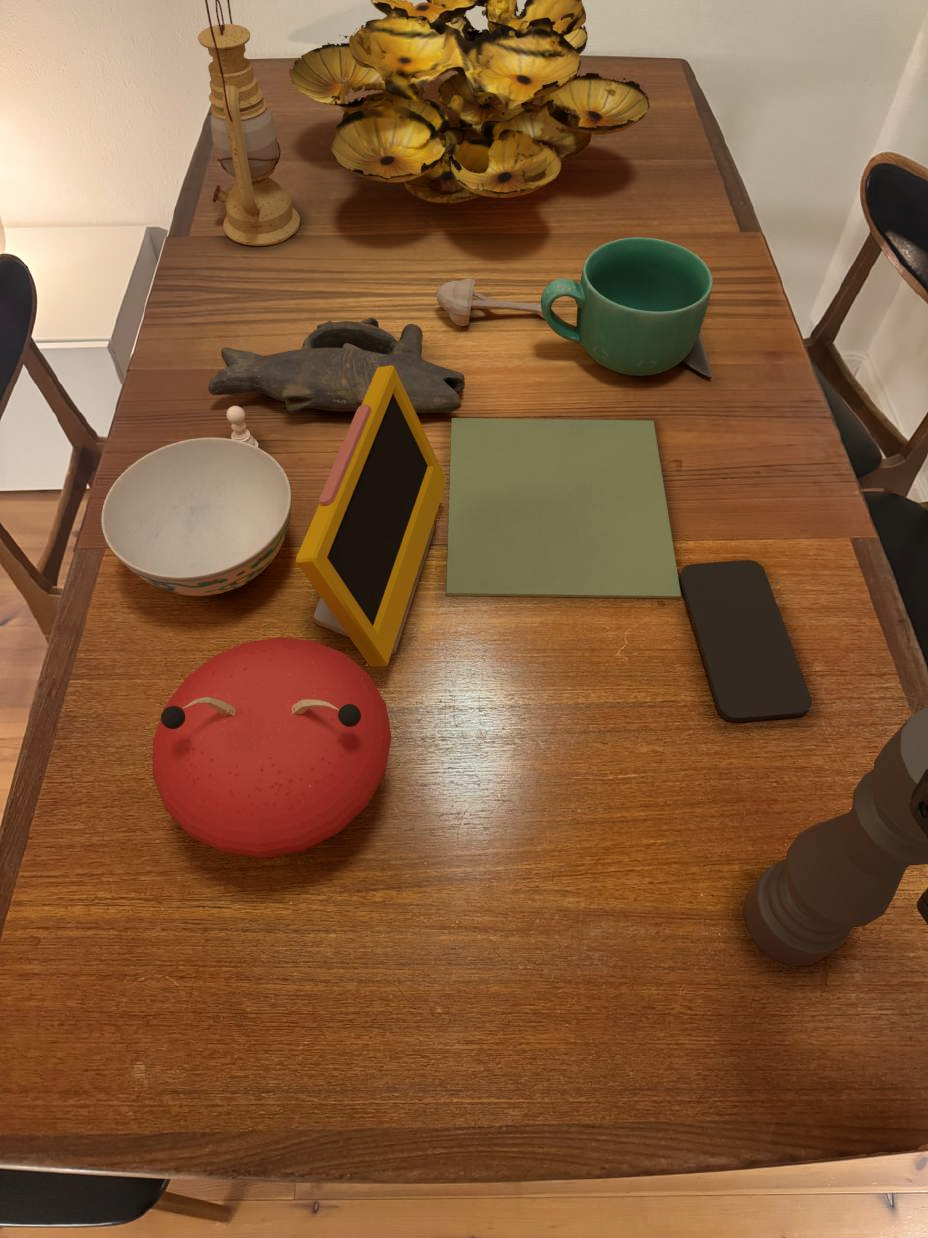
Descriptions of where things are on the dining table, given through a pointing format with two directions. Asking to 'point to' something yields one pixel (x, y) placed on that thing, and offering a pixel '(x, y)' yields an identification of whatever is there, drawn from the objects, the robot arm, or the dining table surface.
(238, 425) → the chess pawn
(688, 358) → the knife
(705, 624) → the phone
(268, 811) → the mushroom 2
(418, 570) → the yellow framed monitor
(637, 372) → the mug
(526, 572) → the mat
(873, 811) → the candle holder
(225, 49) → the lantern
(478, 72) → the mushroom
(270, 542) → the chinaware
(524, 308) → the mushroom
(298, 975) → the dining table surface
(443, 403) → the ceramic vessel
